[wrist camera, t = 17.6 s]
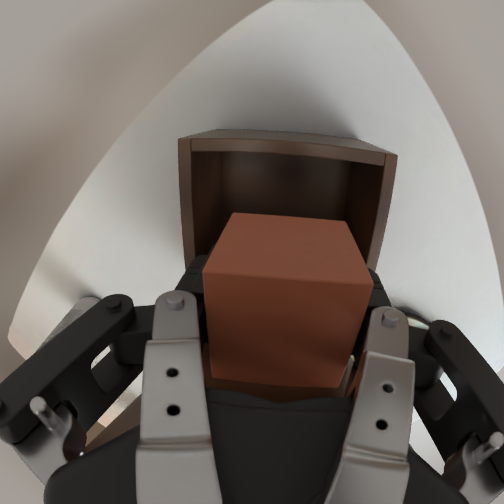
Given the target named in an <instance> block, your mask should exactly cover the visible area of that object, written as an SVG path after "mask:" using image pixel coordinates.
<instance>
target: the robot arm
mask: <svg viewBox="0 0 504 504" xmlns="http://www.w3.org/2000/svg"><path fill="white" fill-rule="evenodd" d="M215 245H216V244H214V245H213V246H212V248H211V250H210V252H209V254H208V255H199V256H198V257H196V258H195V259H193V260H192V262H191V263H190V265H189V266H188V268H187V270H186V271H185V274H184V275H183V276H182V278H181V280H180V281H179V283H178V285H177V287H176V288H175V290H173V291H169V292H166V293H164V294H162V295H161V296H159V297H158V298H157V300H156V303H155V305H150V306H136V307H134V304H133V301H132V299H131V298H130V297H129V296H127V295H123V294H114V295H110V296H107V297H105V298H103V299H102V300H100V301H99V302H98V303H96V304H95V305H94V306H92V307H91V308H90V309H89V310H87V311H86V312H85V313H84V314H82V315H81V316H80V317H78V318H77V319H76V320H75V321H73V322H72V323H71V324H70V325H68V326H67V327H66V328H65V329H63V330H62V331H61V332H60V333H59V334H57V335H56V336H55V337H54V338H52V339H51V340H50V341H49V342H48V343H46V344H45V345H44V346H43V347H42V348H40V349H39V350H38V351H37V352H36V353H34V354H33V355H32V356H31V357H30V358H29V359H27V360H26V361H25V362H24V363H23V364H22V365H21V366H19V367H18V368H17V369H16V370H15V371H14V372H13V373H11V374H10V375H9V376H8V377H7V378H6V379H5V380H4V381H3V382H1V384H0V438H1V440H2V441H4V442H5V443H6V444H7V445H8V446H9V447H10V448H12V449H13V450H14V451H15V452H16V453H17V454H18V455H19V456H20V458H21V459H22V460H23V461H24V463H25V464H26V465H27V466H28V467H29V468H30V470H31V471H32V472H33V473H34V474H35V475H36V476H37V478H38V479H39V480H40V481H41V482H42V483H43V484H44V485H45V490H44V504H490V503H491V502H492V501H493V500H494V499H495V498H497V497H498V496H499V495H500V494H501V493H502V492H503V491H504V384H503V382H502V381H501V380H500V378H499V377H498V376H497V374H496V373H495V372H494V370H493V369H492V368H491V367H490V365H489V364H488V363H487V362H486V360H485V359H484V358H483V357H482V355H481V354H480V353H479V352H478V351H477V349H476V348H475V347H474V346H473V345H472V344H471V342H470V341H469V340H468V339H467V338H466V337H465V335H464V334H463V333H462V332H461V331H460V330H459V329H458V328H457V327H456V326H455V325H454V324H452V323H450V322H448V321H445V320H436V321H433V322H432V323H431V324H430V326H429V328H428V330H426V329H422V328H418V327H414V326H411V325H409V322H408V319H407V317H406V316H405V314H404V313H402V312H401V311H400V310H398V309H396V308H393V307H392V305H391V303H390V301H389V298H388V296H387V294H386V292H385V290H384V287H383V285H382V284H381V281H380V279H379V276H378V275H377V274H376V273H375V272H374V271H373V270H372V269H371V268H367V269H368V271H369V273H370V276H371V278H372V280H373V283H374V286H373V289H372V293H371V296H370V299H369V303H368V306H367V309H366V312H365V316H364V319H363V322H362V325H361V328H360V331H359V334H358V336H357V339H356V342H355V345H354V348H353V350H352V353H351V355H354V362H353V364H352V367H351V370H350V374H349V378H348V381H347V385H346V388H345V392H344V395H343V397H342V398H333V397H315V398H309V399H304V400H298V401H291V402H285V403H276V402H273V401H269V400H266V399H263V398H260V397H256V396H253V395H250V394H247V393H244V392H240V391H232V390H224V389H217V388H211V387H207V385H206V378H205V369H204V361H203V353H202V352H203V349H204V346H205V344H208V334H207V323H206V312H205V300H204V288H203V274H202V271H203V268H204V266H205V265H206V263H207V261H208V259H209V257H210V255H211V253H212V251H213V249H214V247H215ZM108 345H109V347H110V350H111V351H110V352H109V353H108V354H107V355H106V356H105V357H104V358H103V359H102V360H101V361H100V362H98V363H97V364H96V365H95V366H94V367H93V368H92V369H91V364H92V362H93V360H94V359H95V358H96V357H97V356H98V355H99V354H100V353H101V352H102V351H103V350H104V349H105V348H106V347H107V346H108ZM142 371H143V381H142V397H141V421H140V423H139V424H138V425H136V426H134V427H133V428H131V429H129V430H127V431H126V432H124V433H122V434H121V435H119V436H117V437H115V438H113V439H112V440H110V441H108V442H106V443H104V444H103V445H101V446H99V447H97V448H95V449H93V450H91V451H89V452H87V453H86V454H84V453H85V451H86V447H85V444H86V439H87V437H86V432H87V431H88V430H89V429H90V428H91V427H92V426H93V425H94V424H95V422H96V421H97V420H98V419H99V418H100V417H101V416H102V415H103V414H104V413H105V411H106V410H107V409H108V408H109V407H110V406H111V405H112V404H113V403H114V402H115V400H116V399H117V398H118V397H119V396H120V395H121V394H122V393H123V392H124V391H125V389H126V388H127V387H128V386H129V385H130V384H131V383H132V382H133V381H134V380H135V378H136V377H137V376H138V375H139V374H140V373H141V372H142ZM443 372H445V373H446V374H447V376H448V377H449V379H450V380H451V382H452V383H453V384H454V386H455V387H456V390H457V398H456V401H454V400H453V398H452V397H451V395H450V394H449V392H448V391H447V389H446V388H445V386H444V385H443V383H442V382H441V380H440V379H439V378H440V377H441V375H442V374H443ZM413 406H414V408H415V409H416V411H417V413H418V414H419V416H420V418H421V419H422V422H423V423H424V425H425V427H426V429H427V430H428V432H429V434H430V436H431V438H432V440H433V441H434V443H435V445H436V447H437V449H438V451H439V452H440V454H441V456H442V458H443V460H444V462H445V466H444V473H443V474H442V476H441V475H440V474H439V473H438V472H437V471H435V470H434V469H433V468H432V467H431V466H430V465H429V464H428V463H427V462H426V461H424V460H423V459H422V458H421V457H420V456H419V455H418V454H417V453H416V452H415V451H413V450H412V449H411V448H410V447H409V446H408V445H409V438H410V431H411V422H412V413H413ZM83 454H84V455H83ZM81 455H82V456H81ZM79 456H80V457H79Z"/></svg>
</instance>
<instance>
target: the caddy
mask: <svg viewBox="0 0 504 504" xmlns="http://www.w3.org/2000/svg"><path fill="white" fill-rule="evenodd" d="M397 158H398V156H397V155H396V154H394V153H391V152H389V151H386V150H384V149H382V148H379V147H377V146H374V145H372V144H369V143H367V142H364V141H361V140H358V139H351V138H344V137H336V136H328V135H319V134H309V133H298V132H284V131H268V130H240V129H216V130H211V131H207V132H202V133H198V134H194V135H191V136H187V137H183V138H179V139H178V164H179V188H180V206H181V222H182V235H183V247H184V259H185V269H186V270H187V268H188V266H189V265H190V263H191V262H192V260H193V259H195V258H196V257H198V256H199V255H208V254H209V252H210V250H211V248H212V246H213V245H214V244H217V242H218V240H219V238H220V236H221V234H222V232H223V230H224V228H225V227H226V225H227V223H228V221H229V219H230V217H231V215H232V214H233V213H248V214H263V215H277V216H290V217H302V218H314V219H325V220H336V221H345V222H346V223H347V225H348V227H349V230H350V232H351V234H352V236H353V238H354V240H355V242H356V244H357V247H358V249H359V251H360V253H361V255H362V257H363V260H364V262H365V264H366V266H367V268H371V269H372V270H373V271H374V272H375V270H376V266H377V262H378V258H379V254H380V250H381V246H382V241H383V237H384V232H385V228H386V223H387V218H388V213H389V208H390V203H391V197H392V191H393V185H394V179H395V172H396V165H397Z"/></svg>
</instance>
